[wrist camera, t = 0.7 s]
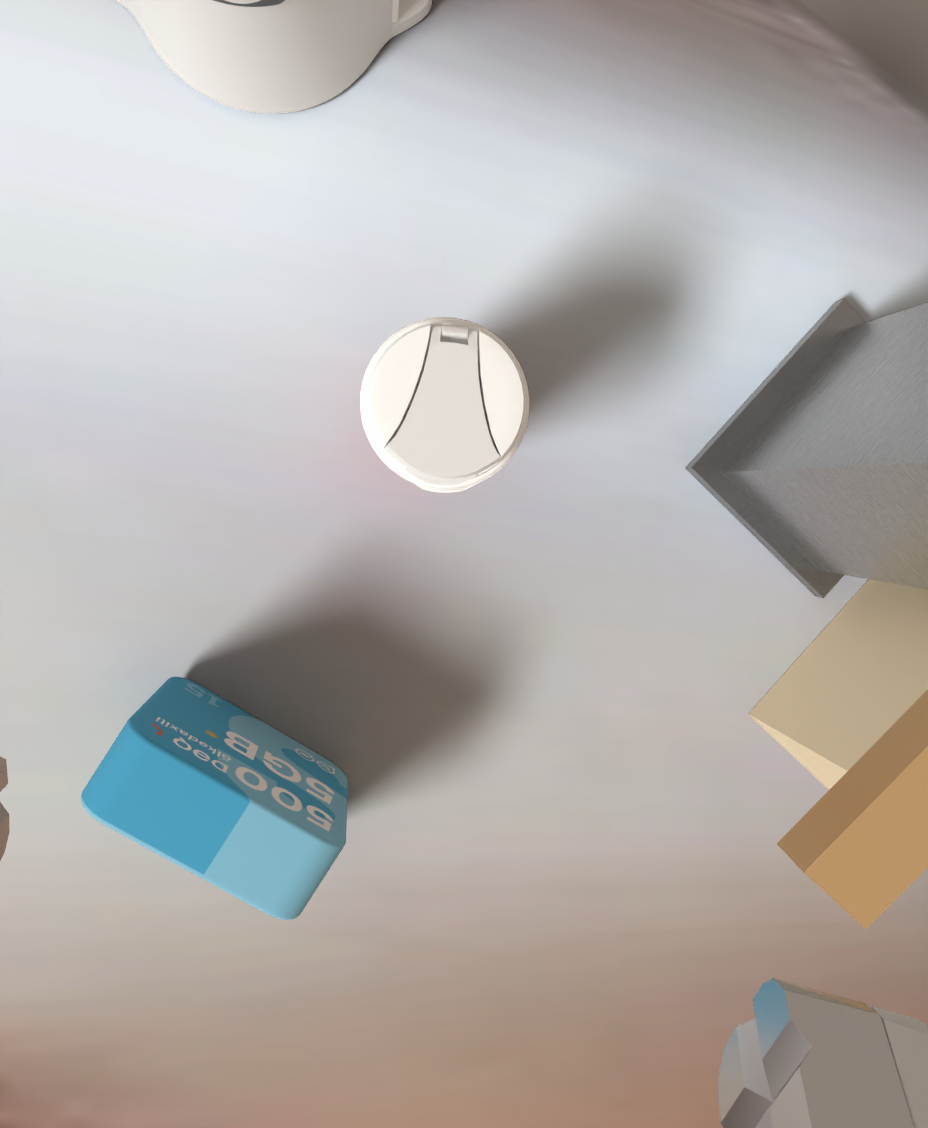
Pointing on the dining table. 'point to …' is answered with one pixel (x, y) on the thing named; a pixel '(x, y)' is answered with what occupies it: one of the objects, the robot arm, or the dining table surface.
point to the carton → (851, 680)
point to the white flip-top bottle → (444, 404)
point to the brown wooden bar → (871, 823)
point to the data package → (223, 797)
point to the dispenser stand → (835, 453)
